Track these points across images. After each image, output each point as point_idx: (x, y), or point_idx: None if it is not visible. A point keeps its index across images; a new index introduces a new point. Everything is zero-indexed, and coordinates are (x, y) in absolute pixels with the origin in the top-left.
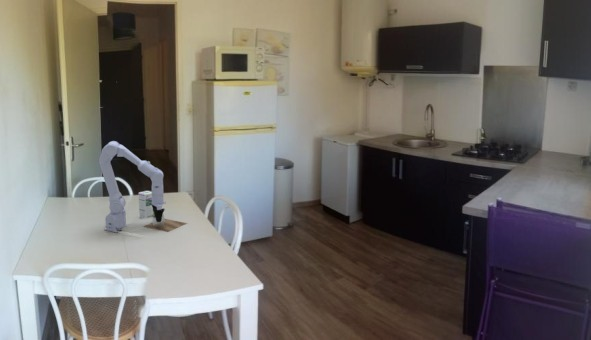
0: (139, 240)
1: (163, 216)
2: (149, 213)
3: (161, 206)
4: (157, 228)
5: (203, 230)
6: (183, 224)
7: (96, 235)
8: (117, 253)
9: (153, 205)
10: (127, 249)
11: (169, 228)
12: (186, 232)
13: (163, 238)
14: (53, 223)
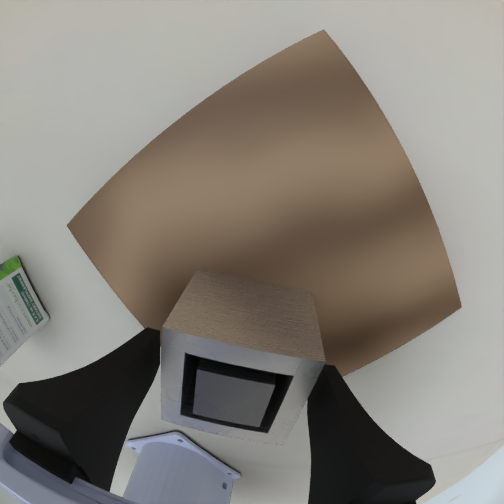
0: (408, 431)
1: (302, 366)
2: (10, 311)
3: (87, 411)
4: (339, 357)
5: (472, 13)
6: (349, 83)
7: (240, 499)
8: (451, 466)
9: (104, 485)
10: (450, 452)
11: (402, 270)
12: (478, 141)
13: (476, 335)
14: None
